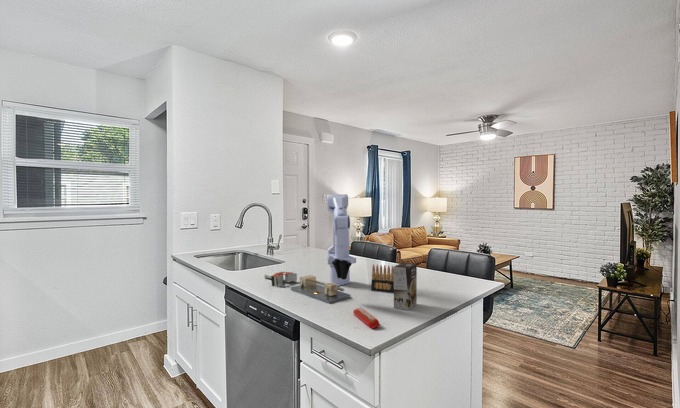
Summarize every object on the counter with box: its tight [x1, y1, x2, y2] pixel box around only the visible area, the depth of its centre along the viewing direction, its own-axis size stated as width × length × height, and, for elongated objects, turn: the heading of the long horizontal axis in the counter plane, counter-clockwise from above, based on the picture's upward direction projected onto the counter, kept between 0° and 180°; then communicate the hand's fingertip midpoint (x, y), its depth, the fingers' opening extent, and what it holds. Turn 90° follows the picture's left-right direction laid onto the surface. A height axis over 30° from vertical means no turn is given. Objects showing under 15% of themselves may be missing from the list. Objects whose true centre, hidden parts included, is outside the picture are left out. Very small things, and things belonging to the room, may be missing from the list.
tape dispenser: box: [264, 271, 298, 288], centre depth 169 cm, size 18×5×20 cm
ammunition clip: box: [370, 264, 394, 294], centre depth 151 cm, size 11×2×12 cm, turn 68°
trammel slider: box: [324, 283, 338, 296], centre depth 142 cm, size 4×4×4 cm
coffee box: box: [393, 262, 418, 311], centre depth 131 cm, size 9×6×16 cm
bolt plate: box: [290, 283, 352, 304], centre depth 148 cm, size 12×27×1 cm, turn 42°
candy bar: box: [353, 307, 381, 330], centre depth 116 cm, size 16×4×3 cm, turn 21°
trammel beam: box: [299, 274, 346, 292], centre depth 149 cm, size 7×24×4 cm, turn 42°
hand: (342, 278), depth 137 cm, fingers closed
